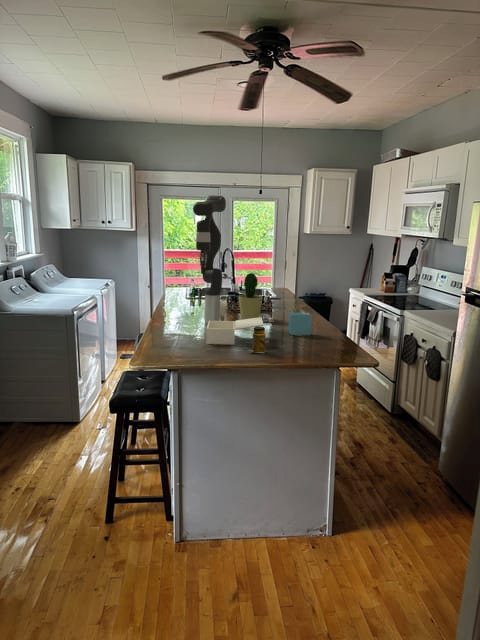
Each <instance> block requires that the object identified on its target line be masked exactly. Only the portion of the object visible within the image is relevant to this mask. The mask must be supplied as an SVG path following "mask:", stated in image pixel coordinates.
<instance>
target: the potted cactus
mask: <svg viewBox="0 0 480 640" xmlns="http://www.w3.org/2000/svg"><path fill="white" fill-rule="evenodd" d="M257 277H258V276H257V275H256V274H255V273H251V272H248V273H247V274H246V276H245V277H244V280H243V288H244V290H245V291H244V293H245V294H240V295H238V304H239V312H240V320H244V319H251V318H258V317H260V314H261V308H262V302H263V297H264V295H263V296H262V295H260V294H259V295H258V294H256V289H257V287H258V278H257Z"/></svg>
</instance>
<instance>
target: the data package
mask: <svg viewBox="0 0 480 640" xmlns="http://www.w3.org/2000/svg"><path fill="white" fill-rule="evenodd" d="M312 325H313V316H312V314H310V312H291V313H289V315H288V333H289V335H291V336H292V335H295V336H298V337H299V336H300V337H301V336H302V335H309V336H311V334H312V328H313V327H312ZM302 337H303V336H302Z"/></svg>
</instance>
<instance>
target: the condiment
mask: <svg viewBox="0 0 480 640" xmlns="http://www.w3.org/2000/svg"><path fill="white" fill-rule="evenodd" d="M265 330H266V328H265V326H259V327H253V333H252V346H251V347H252V348H251V349H252V350H253V351H254V352H264V351H265V352H266V331H265Z"/></svg>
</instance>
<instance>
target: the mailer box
mask: <svg viewBox="0 0 480 640" xmlns="http://www.w3.org/2000/svg"><path fill="white" fill-rule="evenodd" d="M235 321H236V320H235ZM235 321H233V320H220V321H209V322H208V323H207V326H206V344H207V345H235V336H236V335H235V333H236V330H235Z"/></svg>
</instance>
